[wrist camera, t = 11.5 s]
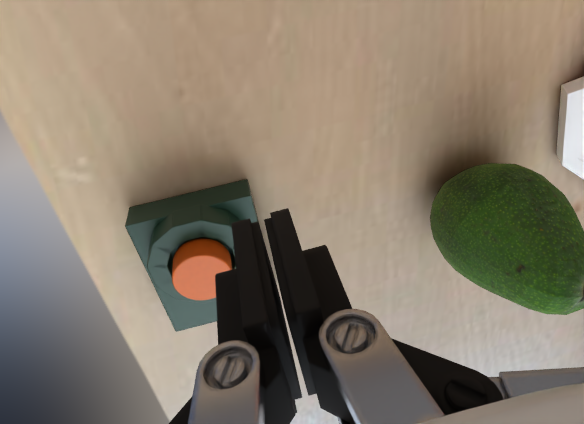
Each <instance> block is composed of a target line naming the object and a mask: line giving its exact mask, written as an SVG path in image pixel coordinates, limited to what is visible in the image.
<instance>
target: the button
mask: <svg viewBox="0 0 584 424" xmlns="http://www.w3.org/2000/svg"><path fill="white" fill-rule="evenodd" d="M229 270H232V265H231V257H230V253H229V251H228V250H227V248H226V247H225V246H224V245H222V244H221V243H219V242H217V241H215V240H212V239H206V238H200V239H194V240H191V241H188V242H186V243H184V244H183V245H182V246H180V247H179V248H178V250H177V251H176V253H175V254H174V257H173V267H172V283H173V286H174V287H175V289H176V290H177V291H178V292H179V293H180V294H181V295H183V296H184V297H186V298H189V299H193V300H209V299H212V298H215V297H216V285H215V275H216V274H217V273H221V272H225V271H229Z"/></svg>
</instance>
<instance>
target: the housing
mask: <svg viewBox="0 0 584 424" xmlns="http://www.w3.org/2000/svg"><path fill="white" fill-rule="evenodd" d="M249 218H250V220H251V223H253V222H257V221H258V217H257V214H256V210H255V206H254V202H253V198H252V194H251V191H250V187H249V183H248V180H247V179H246V180H242V181H238V182H234V183H229V184H225V185H221V186H217V187H213V188H209V189H205V190H200V191H196V192H192V193H188V194H184V195H180V196H176V197H171V198H167V199H163V200H159V201H155V202H151V203H147V204H143V205H138V206H134V207H130V208H129V212H128V216H127V220H126V225H125V227H126V229H127V231H128V233H129V235H130V237H131V239H132V241H133V244H134V246H135V248H136V250H137V252H138V254H139V256H140V258H141V260H142V262H143V264H144V266H145V268H146V271H147V273H148V275H149V277H150V279H151V281H152V283H153V285H154V287H155V289H156V291H157V293H158V295H159V298H160V300H161V302H162V304H163V306H164V308H165V310H166V312H167V314H168V316H169V318H170V320H171V322H172V325H173V327H174V329H175V331H176V332H177V331H181V330H185V329H188V328H192V327H196V326H200V325H204V324H208V323H212V322H215V321H217V306H216V297H215V298H212V299H209V300H193V299H189V298H186V297H184V296H183V295H181V294H180V293H179V292H178V291H177V290H176V289H175V287H174V286H173V283H172V267H173V257H174V254H175V253H176V251H177V250H178V248H179V247H180V246H182V245H183V244H184V243H186V242H188V241H191V240H194V239H200V238H206V239H212V240H215V241H217V242H219V243H221V244H222V245H224V246H225V247H226V248H227V250H228V251H229V253H230V257H231V265H232V269H236V262H235V253H234V244H233V235H232V226H231V223H233V222H237V221H241V220H245V219H249ZM258 222H259V221H258Z"/></svg>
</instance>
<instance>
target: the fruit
mask: <svg viewBox="0 0 584 424" xmlns="http://www.w3.org/2000/svg"><path fill="white" fill-rule="evenodd" d="M430 222H431V229H432V233H433V237H434V240H435V242H436V244H437V246H438V248H439V250H440V251H441V253H442V255H443V256H444V258H445V259H446V260H447V261H448V263H449V264H450V265H451V266H452V267H453V268H454V269H455V270H456V271H457V272H459V273H460V274H462V275H463V276H464V277H466V278H467V279H469V280H470V281H472V282H473V283H475V284H477V285H478V286H480V287H482V288H484V289H486V290H488V291H490V292H492V293H494V294H497V295H499V296H501V297H503V298H505V299H508V300H510V301H512V302H514V303H517V304H519V305H521V306H524V307H526V308H528V309H531V310H535V311H538V312H542V313H545V314H561V315H567V314H569V313H572V312H575V311H578V310H581V309H583V308H584V231H583V228H582V226H581V224H580V222H579V220H578V218H577V215H576V213H575V211H574V209H573V208H572V206H571V204H570V203H569V201H568V200H567V198H566V197H565V195H564V194H563V193H562V192H561V191H559V190H558V189H557V188H556V187H555V186H554V185H552V184H551V183H550V182H549V181H548V180H547V179H546V178H545V177H543V176H542V175H540V174H538V173H536V172H534V171H532V170H530V169H527V168H525V167H522V166H519V165H517V164H497V163H488V164H483V165H478V166H475V167H472V168H469V169H467V170H464V171H463V172H461V173H459V174H457V175H456V176H454V177H453V178H451V179H450V180H448V181H447V182H445V183H444V184H443V186H442V187H441V189H440V190H439V192H438V193H437V195H436V197H435V199H434V201H433V203H432V209H431V215H430Z"/></svg>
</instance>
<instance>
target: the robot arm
mask: <svg viewBox="0 0 584 424" xmlns="http://www.w3.org/2000/svg"><path fill="white" fill-rule="evenodd" d="M270 215H271V218H269V219H265V220H264V222H265V226H266V230H267V235H268V239H269V243H270V248H271V252H272V256H273V261H274V265H275V270H276V274H277V278H278V283H279V287H280V291H281V296H282V300H283V304H284V309H285V313H286V317H287V321H288V324H289V328H290V331H291V335H292V338H293V342H294V346H295V349H296V353H297V356H298V360H299V363H300V367H301V370H302V374H303V377H304V381H305V384H306V388H307V392H308V395H313V394H316V393H317V396H318V400H319V404H320V408H322V409H324V410H326V411H327V412H329V413H331V414H333V415H335V416H337V418H338V421H339V424H584V367H579V368H562V369H544V370H527V371H510V372H500V373H499V377H487V376H485V375H483V374H481V373H480V372H478V371H476V370H473V369H470V368H468V367H465V366H462V365H460V364H457V363H455V362H452V361H449V360H447V359H444V358H441V357H439V356H436V355H433V354H431V353H428V352H426V351H423V350H420V349H418V348H415V347H412V346H410V345H407V344H404V343H402V342H399V341H397V340H394V339H391V338H390V336H389V335H388V333H387V332H386V331H385V329H384V328H383V326H382V325H381V323H380V322H379V321H378V320H377V319H376V318H375V317H374V316H373V315H372V314H370V313H368V312H366V311H363V310H359V309H352V307H351V304H350V302H349V299H348V297H347V295H346V292H345V290H344V287H343V285H342V282H341V280H340V278H339V275H338V273H337V270H336V268H335V265H334V263H333V261H332V258H331V256H330V253H329V251H328V248H327V246H326V245H323V246H319V247H315V248H312V249H308V250H304V251H302V249H301V246H300V243H299V240H298V237H297V233H296V230H295V227H294V224H293V221H292V218H291V215H290V212H289V209H288V208H287V209H283V210H280V211H276V212H272V213H270ZM231 226H232V235H233V244H234V253H235V262H236V269H232V270H229V271H225V272H221V273H217V274H216V275H215V285H216V306H217V327H218V345H217V346H216V347H214V348H212V349H211V350H210V351H209V352H208V353H207V354H205V356H204V357H203V359H202V360H201V362H200V363H199V366H198V369H197V373H196V379H195V385H194V390H193V396H192V397H191V399H190V400H189V401H188V402H187V403H186V404H185V405H184V407H183V408H182V409H181V410H180V411H179V412H178V414H177V415H176V416H175V417H174V418H173V419H172V421H171V422H170V423H169V424H290V422H291V421H292V419H293V418H294V416H295V413H297V410H296V405H295V399H298V398H302V394H301V390H300V385H299V381H298V376H297V372H296V367H295V363H294V358H293V354H292V349H291V345H290V341H289V336H288V332H287V327H286V323H285V318H284V314H283V309H282V305H281V300H280V296H279V292H278V288H277V285H276V281H275V278H274V274H273V271H272V267H271V264H270V260H269V257H268V253H267V250H266V246H265V243H264V239H263V236H262V232H261V229H260V225H259V222H258V221H257V222H253V223H251V220H250V218H249V219H245V220H241V221H237V222H233V223H231Z"/></svg>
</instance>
